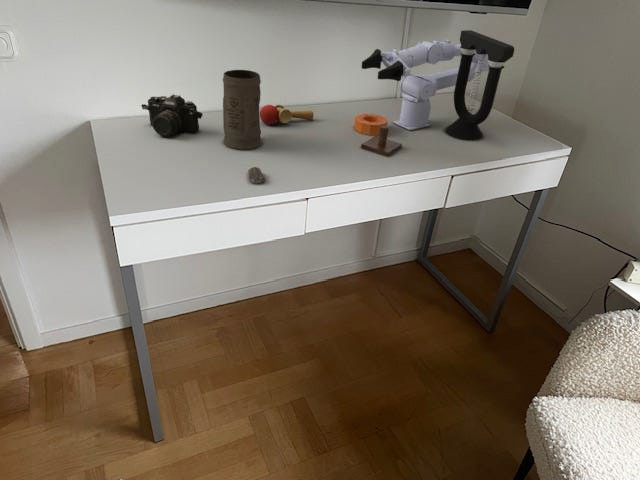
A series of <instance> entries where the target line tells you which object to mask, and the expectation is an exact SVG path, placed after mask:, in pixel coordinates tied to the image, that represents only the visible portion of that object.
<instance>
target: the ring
mask: <svg viewBox="0 0 640 480" xmlns="http://www.w3.org/2000/svg"><path fill="white" fill-rule="evenodd" d="M382 125H385V126H388V119H387V118H386V117H385V116H383V115H380V114H375V113H361V114H357V115H356V116H355V118H354V126H353V128H354V130H355V131H356V132H358V133H360V134H363V135H367V136H379V133H380V126H382Z"/></svg>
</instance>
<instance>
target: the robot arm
mask: <svg viewBox="0 0 640 480" xmlns="http://www.w3.org/2000/svg"><path fill="white" fill-rule="evenodd" d="M460 46H461V43H459V44H454V42H452V41H451V40H450V39H444V40H443V41H438V40H433V42H429V41H427V40H420V41H418V43H417V44H416V45H415V46H412V47H408V48H404V49H402V50H397V49H395V48H393V49H392V50H391V51H382V50H381V49H379V48H376V49H374V51H373V53H371V55H370V56H368V57H367V58H365V59H364V60H362V61H361V69H362V70H368V69H379V71H377V80H391V81H392V80H393V81H397V82H400V84H399V90H400V92H401V93H402V94H401V96H402V103H401V109H400V115H399V119H397V120H394V121H393V123H394V124H395V125H397V126H399V127H402V128H403V129H405V130H408V131H413V130H418V129H422V128H426V127H430V124H429V118H430V114H431V108H432V104H431V100H430V98H432V97H435V96H436V93H437V91H440V90H443V89H447V88H451V87H455V85H456V80H457V75H458V71H459V66H460V63H459V64H458V67H456V68H452V69H447V70H443V71H439V72H435V73H432V74H428V75H425V74H415V75H414V74H412V73H411V72H412V69H413V68H415V67H418V66H421V65H424V64H430V65H433V66H434V65H436V64H438V63H439V62H449V61H451V60H453V59H454V58H455V57H461V56H462V55H461V49H460ZM474 54H475V55H474V56H473V59H472V63H471V68H470V72H469V77H468V82H467V83H469V82H472V81H474V78H475V76H474V75H475V72H476V69H477V66H478V65H477V63H479V62H478V60H480V59H481V57H482V56H483V59H482V60H480V62H483V63H484V64H479V65H483V66H484V67H481V66H479V67H478V68H483V70H480V69H478V71H482V73H485V72H487V71H488V72H489V66H488V65H489V62H488V55H487V54H486V56H485V54H481V55H479V54H476V51H475V52H474ZM484 57H485V58H484ZM382 64H383V65H384V66H385V68H383V69H381V68H382V67H381V66H382ZM482 73H480V72H477V74H481V75H482ZM476 76H477V77H479V75H476ZM475 79H476V78H475Z"/></svg>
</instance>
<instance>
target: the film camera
mask: <svg viewBox="0 0 640 480" xmlns="http://www.w3.org/2000/svg"><path fill="white" fill-rule="evenodd" d="M140 106H141V109H142V110H147V111H148V114H149V115H148V116H149V123H150V126H152V128H153V130H154V131H155V133H157V135H159V136H160V137H163V138H166V137H170V136H173V135H175V134H182V133H184V132H185V133H189V134H196V133H198V132H199V129H200V125H199V120H201V119H202V117H203V113H202V112H201V111H198V107H197V105H196V104H195V103H194V102H193V101H189V100H188V101H186V100H185V98H184V97H182V96H181V95H180V94H178V95H176V94H174V93H173V94H171V95H169V96H165V95H161V96H150V98H149V99H147V104H145V103H144V104H141V105H140Z"/></svg>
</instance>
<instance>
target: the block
mask: <svg viewBox="0 0 640 480" xmlns="http://www.w3.org/2000/svg"><path fill="white" fill-rule="evenodd" d="M247 171H248V176H249V181H250V184H254V185H255V184H256V185H257V184H261V183H263V182H265V181H266V179H265V178H266V177H265V175H264V174H263V172H262V170H261V168H260V167H256V166H253V167H250V168H249V169H248V170H247Z"/></svg>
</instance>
